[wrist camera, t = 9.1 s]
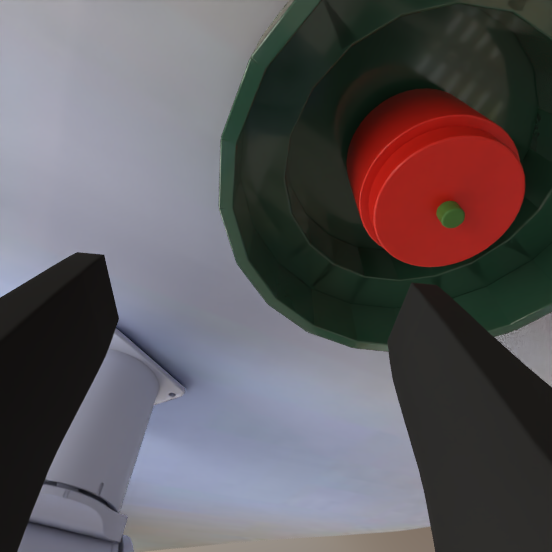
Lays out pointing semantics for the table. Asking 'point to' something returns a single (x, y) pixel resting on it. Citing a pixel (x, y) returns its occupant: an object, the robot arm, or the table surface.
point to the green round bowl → (334, 148)
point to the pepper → (433, 178)
